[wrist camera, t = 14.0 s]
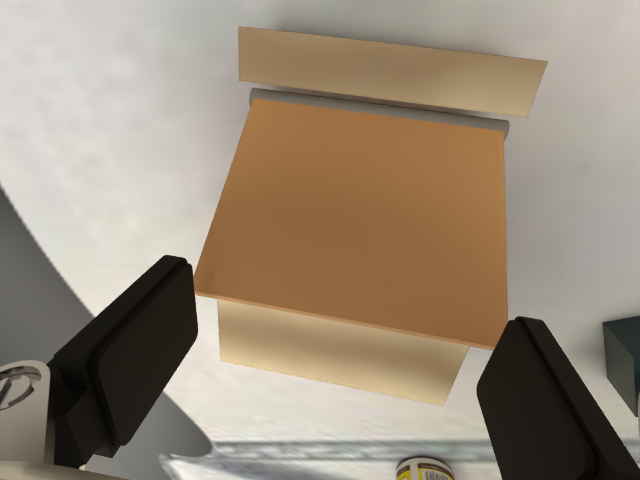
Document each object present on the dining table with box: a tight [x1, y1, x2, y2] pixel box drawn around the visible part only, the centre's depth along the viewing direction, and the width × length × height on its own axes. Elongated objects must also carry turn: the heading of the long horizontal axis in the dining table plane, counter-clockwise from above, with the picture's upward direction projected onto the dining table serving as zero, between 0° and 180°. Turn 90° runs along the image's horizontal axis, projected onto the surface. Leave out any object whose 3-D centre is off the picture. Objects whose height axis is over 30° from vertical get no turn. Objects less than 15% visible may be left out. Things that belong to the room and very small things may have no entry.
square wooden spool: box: [217, 26, 548, 406], centre depth 19 cm, size 18×14×6 cm
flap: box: [193, 88, 509, 350], centre depth 14 cm, size 10×11×1 cm
